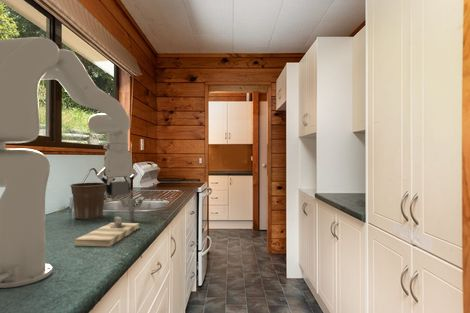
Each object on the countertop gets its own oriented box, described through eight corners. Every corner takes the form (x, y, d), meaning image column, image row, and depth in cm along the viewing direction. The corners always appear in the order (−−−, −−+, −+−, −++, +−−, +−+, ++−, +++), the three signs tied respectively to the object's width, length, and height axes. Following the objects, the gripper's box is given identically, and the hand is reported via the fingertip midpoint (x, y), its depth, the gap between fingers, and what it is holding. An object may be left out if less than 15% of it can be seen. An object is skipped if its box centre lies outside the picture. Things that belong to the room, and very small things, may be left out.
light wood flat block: (109, 246, 96) (109, 229, 96) (74, 245, 97) (74, 228, 97) (139, 228, 120) (139, 214, 120) (111, 227, 121) (111, 214, 121)
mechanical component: (140, 221, 131) (140, 199, 131) (119, 220, 133) (119, 199, 133) (143, 220, 134) (143, 198, 134) (123, 219, 136) (123, 198, 136)
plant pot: (109, 218, 138) (108, 184, 138) (70, 222, 130) (69, 186, 130) (105, 212, 152) (105, 181, 152) (70, 215, 145) (70, 183, 144)
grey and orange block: (128, 194, 114) (128, 180, 114) (112, 195, 110) (112, 182, 110) (123, 192, 119) (123, 179, 119) (107, 194, 115) (107, 180, 115)
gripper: (97, 147, 106) (97, 197, 106) (142, 148, 117) (143, 192, 117) (91, 148, 111) (91, 194, 112) (135, 148, 123) (135, 191, 123)
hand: (118, 193), depth 114 cm, fingers closed on grey and orange block, 6 cm apart
